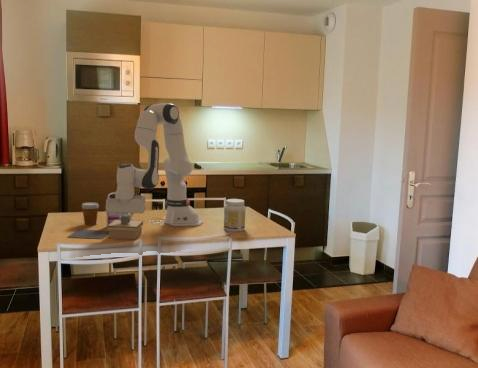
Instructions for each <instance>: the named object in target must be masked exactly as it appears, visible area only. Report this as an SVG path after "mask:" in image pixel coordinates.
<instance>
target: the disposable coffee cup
mask: <svg viewBox="0 0 478 368" xmlns="http://www.w3.org/2000/svg"><path fill="white" fill-rule="evenodd" d="M99 207H100V205H99V203H98V202H90V201H89V202H83V203H82V204H81V208H82V209H81V210H82V215H83V222H84V226H87V227H90V226H96V225H97V222H98V221H97V219H98V211H99Z"/></svg>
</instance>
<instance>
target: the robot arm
mask: <svg viewBox="0 0 478 368" xmlns="http://www.w3.org/2000/svg"><path fill="white" fill-rule="evenodd" d="M160 124H161V125H163V137H164V145H165V149H166V151H167V153H168V157H166V158H164V160H163V163H162V166H163V169H164V172H165V178H166V184H167V187H166V188H167V196H166V197H167V198H166V203H165V204H166V205H165V206H166V214H165V219H164V222H163V223H165V224H166V225H170V226H173V227H178V226H179V227H181V226H182V227H191V226H192V227H196V226H197V227H198V226H202V224H203V219H201V218H200V216H199V212H198V211H197V210H196V209H195V208H194V207H192V206H191V205H190V203H191V202H190V201H191V200H190V199H188V198H187V184H186V182H185V177H188V176H190V175H191V173H192V171H193V165H192V163H191V162H190V161H191V160H190V159H189V155H188V153H187V149H186V145H185V137H184V129H183V124H182V120H181V118H180V112H179V108H178V107H177V105H176V104H173V103H155V104H148V105H147V106H145V107H144V109H143V111H142V112H141V113H140V115H139V117H138V119H137V123H136V125H135V131H134V139H135V142H136V144H138V146H140V147H142V148H143V149H145V150H146V151H147V152H148V159H147V160H148V161H147V169H142V168H138V167H135V166H134V164H133V163H130V162H129V163H128V162H125V163H121V164H119V165H118V166H117V170H116V183H117V187H116V191H114V192H113V191H112V192H111V193H109V194H107V198H108V200H107V201H106V200H105V211H106V213H107V212H117V215H118V216H119V218H120V221H121V215H120V214H121V213H128V214H129V215H130V217H129V218H128V221H133V220H132V219H133V216H134V215H135V214H144V213H145V212H146V198H145V196H143V195H135V187H136V188H144V189H147V190H153V189H154V188H156V187H157V185H159V181H160V175H159V160H160V145H159V142H158V141H157V130H158V125H160Z"/></svg>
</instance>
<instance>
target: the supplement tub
mask: <svg viewBox="0 0 478 368" xmlns="http://www.w3.org/2000/svg"><path fill="white" fill-rule="evenodd" d="M246 208H247V207H246V206H245V200H244V199H241V198H240V199H239V198H229V199H226V200H225V205H224V209H223V214H224V215H223V229H224V230H225V231H226V232H227V231H228V232H232V233H233V232H234V233H236V232H243V231H245V229H246Z"/></svg>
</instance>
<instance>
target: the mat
mask: <svg viewBox="0 0 478 368" xmlns="http://www.w3.org/2000/svg"><path fill="white" fill-rule="evenodd" d="M106 236H109V230H102V229H99V230H98V229H81V228H79V229H77V230H75V231H74V232H73V233H71V234H70V235H68V236H67V238H68V239H71V238H72V239H73V238H74V239H88V240H89V239H90V240H91V239H95V240H102V239H104V238H105V237H106Z"/></svg>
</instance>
